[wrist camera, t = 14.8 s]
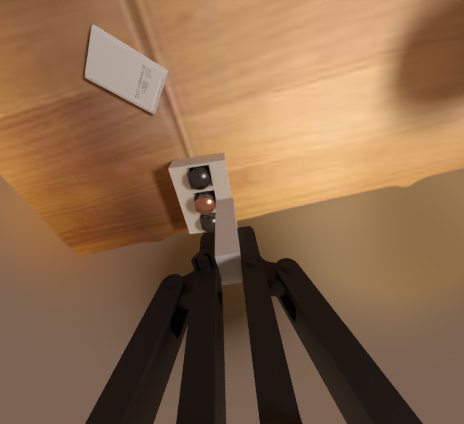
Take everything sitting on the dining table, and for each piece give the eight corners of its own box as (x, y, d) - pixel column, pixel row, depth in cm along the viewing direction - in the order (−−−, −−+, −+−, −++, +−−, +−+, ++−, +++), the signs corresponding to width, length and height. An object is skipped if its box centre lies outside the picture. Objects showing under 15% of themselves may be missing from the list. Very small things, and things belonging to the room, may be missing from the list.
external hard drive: (96, 25, 33) (169, 71, 37) (89, 78, 36) (155, 114, 40) (91, 23, 31) (167, 70, 35) (84, 77, 35) (153, 115, 39)
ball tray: (234, 216, 55) (235, 227, 51) (191, 222, 55) (189, 234, 51) (224, 152, 45) (225, 159, 41) (172, 160, 45) (168, 168, 41)
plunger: (204, 220, 54) (203, 233, 49) (201, 206, 52) (199, 219, 47) (220, 217, 54) (220, 231, 49) (217, 204, 52) (217, 216, 47)
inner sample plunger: (194, 180, 47) (191, 191, 43) (189, 162, 45) (186, 172, 40) (212, 177, 47) (211, 188, 43) (208, 159, 45) (207, 169, 40)
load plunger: (199, 202, 50) (197, 216, 45) (195, 187, 48) (192, 199, 43) (216, 200, 50) (216, 213, 45) (213, 184, 48) (212, 196, 43)
